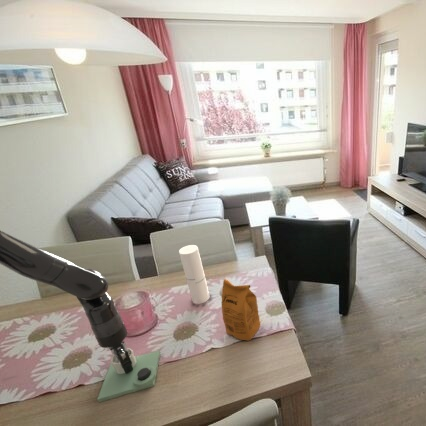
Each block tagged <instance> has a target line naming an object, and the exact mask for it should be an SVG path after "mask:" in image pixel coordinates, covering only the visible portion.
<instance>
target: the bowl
mask: <svg viewBox="0 0 426 426" xmlns="http://www.w3.org/2000/svg"><path fill="white" fill-rule="evenodd" d="M126 348H127V350H128V352H129V357H130V359H131V361H132V364H131V365H132V367H134V366H135V365H136V362H137V360H136V358H135V357H136V356H135V353H134V350H133V349H132V348H130V347H126ZM124 350H125V349H124ZM117 357H118V356H117ZM111 363H112V365H113V367H114V369H115V371H116V373H118V374H123V373H125V371H124V369H123V368H122V366H121V364H120V362H119V361H117V360H116V358H115V356H114V354H112V357H111V358H110V364H111Z"/></svg>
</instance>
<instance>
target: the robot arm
mask: <svg viewBox="0 0 426 426" xmlns="http://www.w3.org/2000/svg"><path fill="white" fill-rule="evenodd" d="M0 265H1V266H3V267H5V268H7V269H8V270H10V271H12V272H14V273H15V274H17V275H20V276H22V277H25V278H26V279H30V280H32V281H36V282H38V283H41V284H45V285H48V286H51V287H55V288H58V289H59V290H61V291H63V292H66V293H68V294H70V295H72V296H75V297H76V299H77V300H78V302H79V303H80V305H81V306H82V308H83V312H84V314H85V316H86V318H87V320H88V322H89V325H90V329H91V331H92V333H93V335H94V337H95V339H96V342H97V343H98V346H99V347H100V348H102V349H109V350H110V352H111V354H112V355H114V356H115V358H116V360H117V361H119V362H120V364H121V366H122V368H123V369H124V371H125V373H126V374H128V373H129V372H131V371H132V370H133V367H132V365H131V364H132V361H131V359H130V357H129V352H128V350H127V348H128V347H127V344H126V342H125V341H124V340H125V339H126V338H127V336H128V330H127V327H126V324H125V323H124V320H123V317H122V315H121V313H120V312H119V311H118V308H117V306H116V303H115V301H114V299H113V298H112V297H111V296H110V295H109V294H108V290H109V281H108V280H107V277H105V276H104V275H102V274H101V273H100V272H99V271H97V270H96V269H94V268H90V267H86V268H82V267H80V266H78V265H76V264H75V263H74V262H72V261H70V260H69V259H66V258H64V257H62V256H60V255H57V254H55V253H53V252H49V251H47V250H45V249H42V248H40V247H38V246H35V245H33V244H31V243H28V242H26V241H23V240H21V239H19V238H17V237H15V236H12V235H11V234H9V233H7V232H5V231H2V230H1V229H0ZM124 349H125V350H124ZM117 356H118V357H117Z"/></svg>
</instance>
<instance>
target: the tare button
mask: <svg viewBox="0 0 426 426" xmlns="http://www.w3.org/2000/svg"><path fill="white" fill-rule="evenodd" d="M137 376H138V378H139V380H141V381H143V380H145V379H147V378H148V377H149V376H150V371H149V369H148V368H143V369H141V370H140V371H139V372H138V374H137Z"/></svg>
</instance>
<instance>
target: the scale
mask: <svg viewBox="0 0 426 426" xmlns="http://www.w3.org/2000/svg"><path fill="white" fill-rule="evenodd" d="M160 353H161V350H156V351H151V352H148V353H144V354H140V355H137V356H135V358H136V360H137V362H136V365H135V366H134V367H133V370H132V371H131V372H129V373H128V374H126V373H123V374H118V373H116V371H115V369H114V367H113V365H112V363H111V362H110V364H109V367H108V370H107V371H106V375H105V377H104V380H103V383H102V385H101V387H100V388H101V389H100V391H99V394H98V395H97V402H98V403H101V402H105V401H108V400H112V399H116V398H118V397H121V396H125V395H128V394H132V393H135V392H139V391H142V390H145V389H148V388H152V387H155V385H156V379H157V374H158V369H159V364H158V363H160V359H159V357H160V358H161V354H160ZM143 368H148V369H149V371H150V376H149V377H148V378H147V379H145V380H143V381H141V380H139V378H138V376H137V374H138V372H139V371H140V370H141V369H143Z"/></svg>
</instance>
